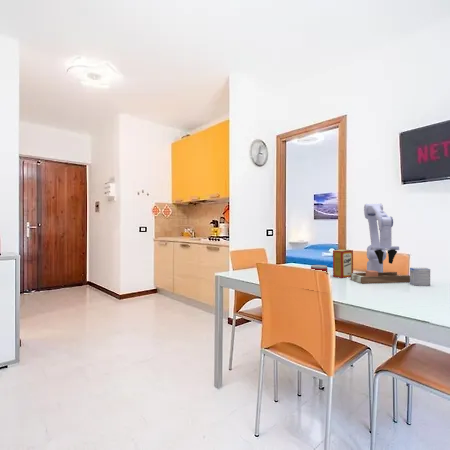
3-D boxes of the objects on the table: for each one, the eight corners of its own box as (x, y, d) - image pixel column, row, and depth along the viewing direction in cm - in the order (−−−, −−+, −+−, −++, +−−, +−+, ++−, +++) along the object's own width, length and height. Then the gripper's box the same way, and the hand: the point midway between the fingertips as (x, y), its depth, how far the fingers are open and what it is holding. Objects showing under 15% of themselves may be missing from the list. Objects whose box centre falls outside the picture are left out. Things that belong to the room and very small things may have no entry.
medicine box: (425, 284, 158) (425, 267, 158) (430, 286, 154) (430, 268, 154) (409, 284, 159) (409, 267, 159) (414, 285, 155) (413, 268, 154)
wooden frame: (350, 279, 173) (350, 273, 173) (395, 278, 175) (395, 272, 175) (361, 283, 161) (361, 277, 161) (410, 282, 163) (410, 275, 163)
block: (365, 276, 170) (365, 270, 170) (373, 276, 170) (373, 270, 170) (370, 278, 165) (370, 271, 165) (378, 278, 166) (378, 271, 166)
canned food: (315, 285, 157) (315, 264, 157) (330, 288, 152) (330, 265, 151) (307, 288, 152) (307, 266, 152) (322, 290, 146) (322, 267, 146)
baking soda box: (342, 278, 177) (341, 250, 177) (333, 276, 182) (332, 249, 182) (353, 276, 181) (352, 249, 181) (344, 275, 187) (343, 248, 187)
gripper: (377, 239, 164) (377, 264, 164) (402, 238, 165) (403, 264, 165) (369, 238, 171) (369, 263, 171) (394, 238, 172) (394, 262, 172)
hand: (385, 263), depth 168 cm, fingers open, 5 cm apart
